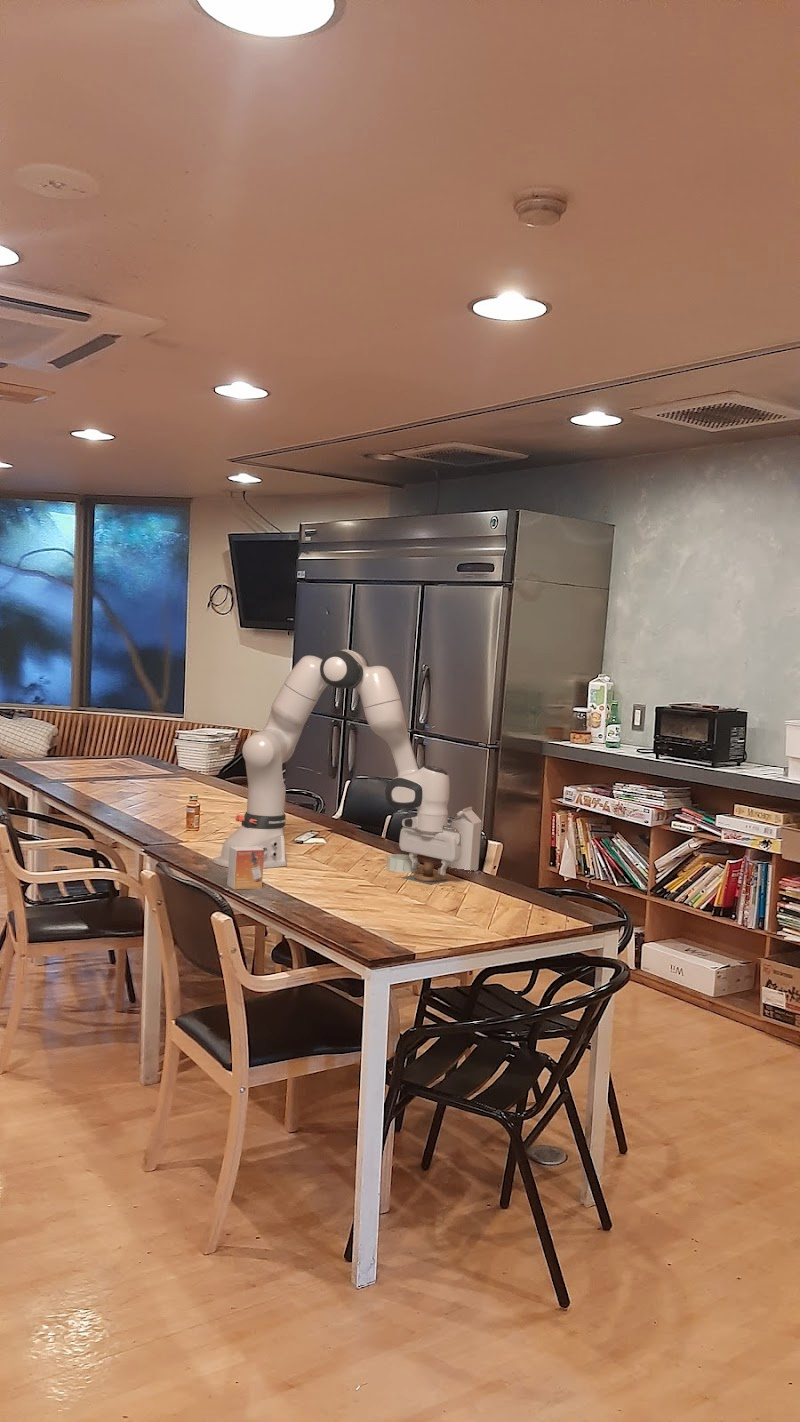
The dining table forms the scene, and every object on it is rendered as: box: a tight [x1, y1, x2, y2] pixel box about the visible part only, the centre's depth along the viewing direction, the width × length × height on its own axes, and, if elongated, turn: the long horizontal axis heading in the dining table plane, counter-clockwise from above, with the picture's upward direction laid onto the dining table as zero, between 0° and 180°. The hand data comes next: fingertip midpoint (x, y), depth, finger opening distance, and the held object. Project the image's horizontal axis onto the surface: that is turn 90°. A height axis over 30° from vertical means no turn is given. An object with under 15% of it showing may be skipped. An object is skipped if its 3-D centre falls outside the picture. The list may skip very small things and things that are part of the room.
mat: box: [400, 874, 453, 886], centre depth 312 cm, size 10×11×1 cm
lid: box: [414, 860, 442, 882], centre depth 311 cm, size 8×8×5 cm
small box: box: [226, 846, 264, 890], centre depth 288 cm, size 8×6×10 cm
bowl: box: [386, 853, 418, 874], centre depth 323 cm, size 9×9×4 cm
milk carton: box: [447, 806, 483, 872], centre depth 329 cm, size 7×7×19 cm
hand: (428, 871), depth 311 cm, fingers open, 8 cm apart
